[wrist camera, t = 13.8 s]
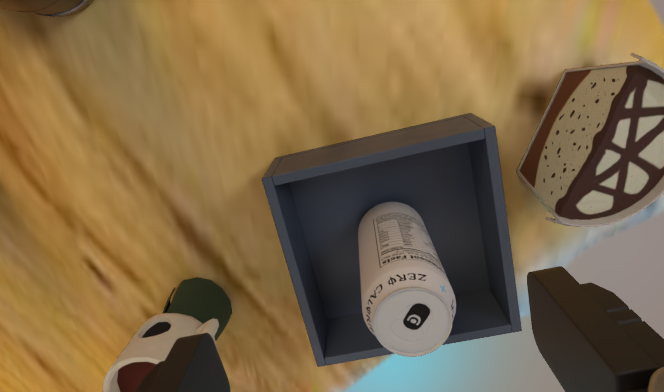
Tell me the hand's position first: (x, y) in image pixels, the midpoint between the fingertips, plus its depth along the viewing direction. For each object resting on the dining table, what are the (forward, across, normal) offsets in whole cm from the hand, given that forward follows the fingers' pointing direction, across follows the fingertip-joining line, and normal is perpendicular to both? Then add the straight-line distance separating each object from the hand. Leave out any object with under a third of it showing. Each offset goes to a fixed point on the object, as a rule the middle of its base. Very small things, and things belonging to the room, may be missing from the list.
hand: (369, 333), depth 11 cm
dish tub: (+30, -2, +10) cm, 32 cm away
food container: (+30, -19, +5) cm, 36 cm away
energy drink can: (+29, -2, +10) cm, 31 cm away
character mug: (+30, +18, +14) cm, 38 cm away
